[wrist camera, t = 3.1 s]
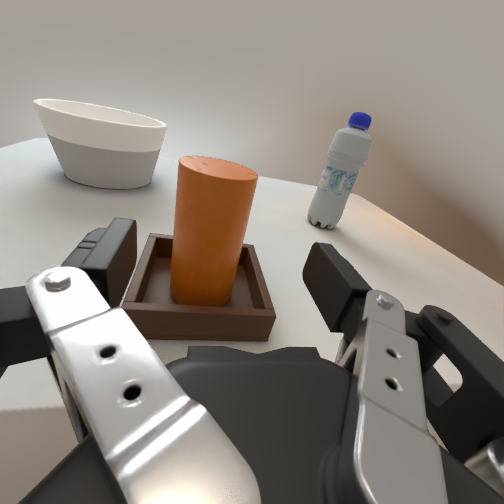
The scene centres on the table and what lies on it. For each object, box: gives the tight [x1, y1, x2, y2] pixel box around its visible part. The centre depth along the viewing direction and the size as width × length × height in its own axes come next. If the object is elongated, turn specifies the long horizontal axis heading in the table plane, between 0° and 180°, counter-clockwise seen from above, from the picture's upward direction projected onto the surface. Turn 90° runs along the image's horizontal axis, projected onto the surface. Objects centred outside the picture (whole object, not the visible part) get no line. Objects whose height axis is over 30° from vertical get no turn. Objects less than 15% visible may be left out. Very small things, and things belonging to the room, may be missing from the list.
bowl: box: [33, 99, 167, 189], centre depth 45 cm, size 19×19×11 cm
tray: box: [121, 233, 276, 341], centre depth 25 cm, size 12×12×3 cm
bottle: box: [308, 112, 372, 229], centre depth 46 cm, size 7×7×20 cm
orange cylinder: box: [169, 156, 258, 307], centre depth 22 cm, size 6×6×12 cm
